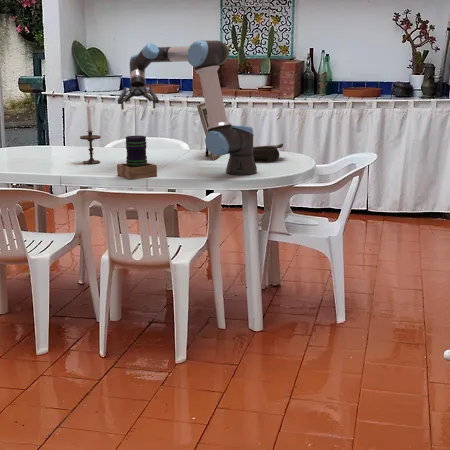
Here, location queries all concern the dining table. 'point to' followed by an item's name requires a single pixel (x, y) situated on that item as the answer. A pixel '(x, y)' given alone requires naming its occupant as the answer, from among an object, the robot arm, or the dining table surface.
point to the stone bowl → (267, 152)
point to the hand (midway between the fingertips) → (138, 113)
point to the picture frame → (205, 125)
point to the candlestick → (90, 137)
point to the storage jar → (136, 151)
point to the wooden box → (137, 171)
